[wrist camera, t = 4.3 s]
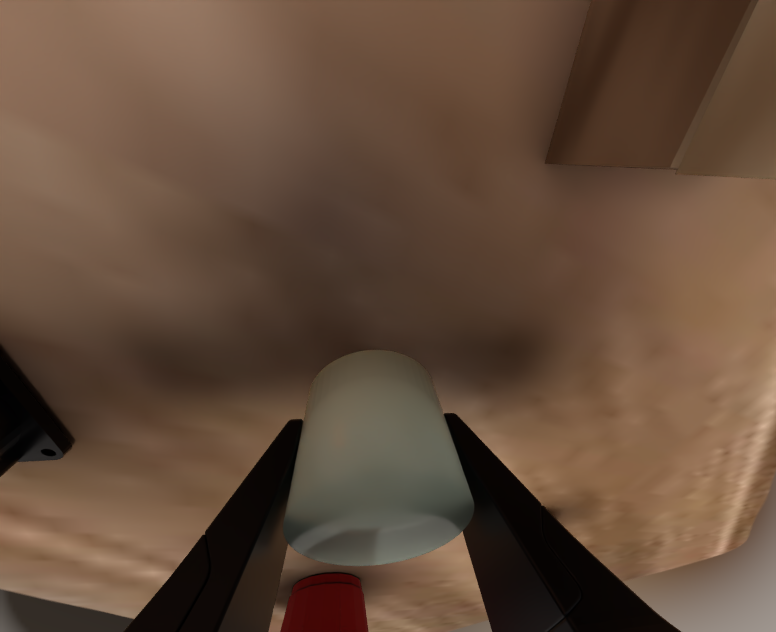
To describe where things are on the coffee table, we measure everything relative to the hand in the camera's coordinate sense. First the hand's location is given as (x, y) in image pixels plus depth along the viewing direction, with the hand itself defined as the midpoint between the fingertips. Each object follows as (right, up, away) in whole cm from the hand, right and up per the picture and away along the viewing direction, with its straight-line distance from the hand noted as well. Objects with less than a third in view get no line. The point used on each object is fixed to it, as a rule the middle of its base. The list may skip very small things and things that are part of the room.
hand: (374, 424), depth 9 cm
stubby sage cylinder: (0, +1, +1) cm, 1 cm away
